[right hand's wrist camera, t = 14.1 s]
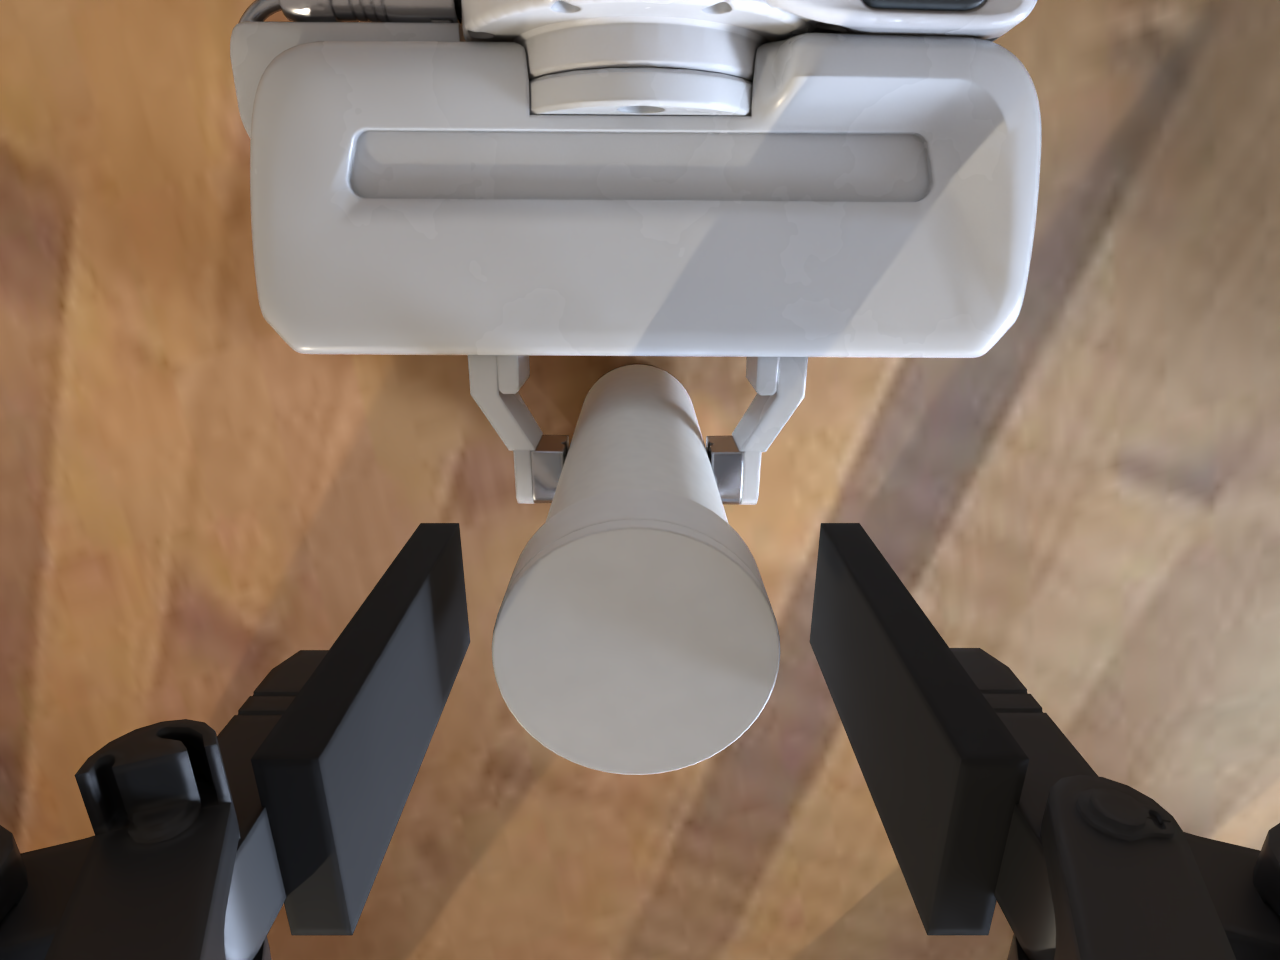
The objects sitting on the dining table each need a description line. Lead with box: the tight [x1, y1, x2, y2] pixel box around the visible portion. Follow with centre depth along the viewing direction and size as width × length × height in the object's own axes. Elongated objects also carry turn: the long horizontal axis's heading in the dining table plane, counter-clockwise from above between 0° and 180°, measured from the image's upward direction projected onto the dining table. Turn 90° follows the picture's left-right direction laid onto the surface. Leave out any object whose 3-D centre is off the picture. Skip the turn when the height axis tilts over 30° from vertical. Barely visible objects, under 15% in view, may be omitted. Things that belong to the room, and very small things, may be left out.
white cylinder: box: [546, 364, 728, 523], centre depth 20 cm, size 4×4×16 cm
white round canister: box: [492, 489, 780, 775], centre depth 13 cm, size 5×5×2 cm
